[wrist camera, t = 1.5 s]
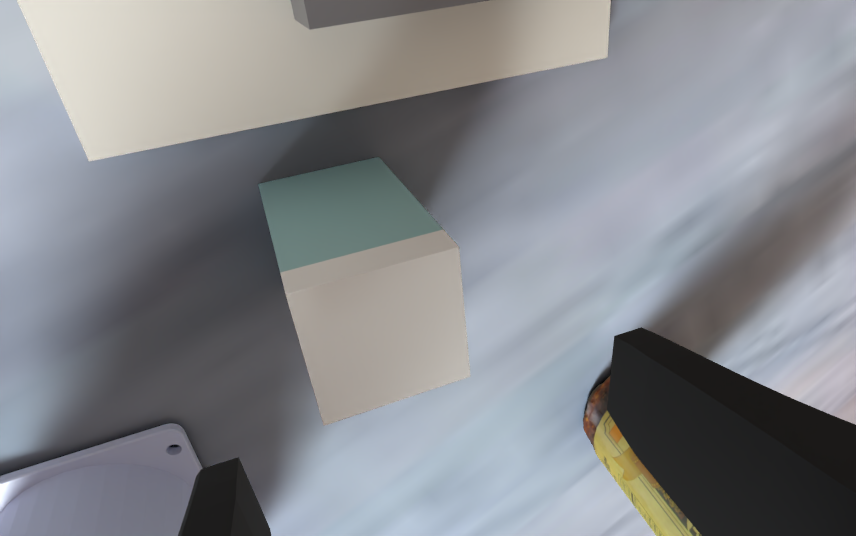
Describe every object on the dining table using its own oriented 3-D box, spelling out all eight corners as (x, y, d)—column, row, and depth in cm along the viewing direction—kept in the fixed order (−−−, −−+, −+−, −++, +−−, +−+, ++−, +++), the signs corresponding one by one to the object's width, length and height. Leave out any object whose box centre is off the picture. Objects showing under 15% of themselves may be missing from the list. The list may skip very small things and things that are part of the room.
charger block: (395, 259, 21) (470, 376, 15) (288, 288, 20) (323, 425, 14) (378, 156, 18) (459, 247, 13) (257, 183, 18) (285, 294, 12)
